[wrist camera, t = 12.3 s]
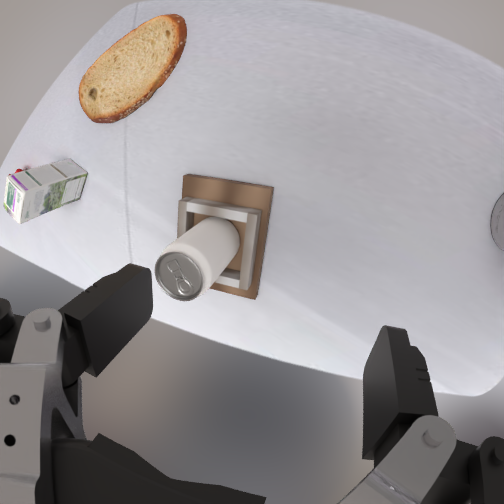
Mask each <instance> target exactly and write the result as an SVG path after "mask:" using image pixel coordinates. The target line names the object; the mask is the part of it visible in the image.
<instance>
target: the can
mask: <svg viewBox="0 0 504 504" xmlns="http://www.w3.org/2000/svg"><path fill="white" fill-rule="evenodd" d="M239 246H240V237H239V234H238V231H237V230H236V228H235V227H234V225H233V224H232V223H231V222H229V221H228V220H226V219H224V218H220V217H209V218H206V219H204V220H203V221H201V222H200V223H198V224H197V225H195V226H194V227H193V228H191V229H190V230H188V231H187V232H186V233H184V234H183V235H182V236H180V237H179V238H177V239H176V240H175V241H173V242H172V243H171V244H170V245H168V246H167V247H166V248H165V249H164V250H163V251H162V253H161V255H160V257H159V259H158V260H157V262H156V265H155V276H156V280H157V282H158V284H159V286H160V287H161V289H162V290H163V291H164V292H165V293H166V294H167V295H169V296H170V297H172V298H174V299H176V300H180V301H190V300H193V299H195V298H196V297H198V296H200V295H202V294H204V293H205V292H206V291H207V290H208V289H209V288H210V287H211V286H212V284H213V283H214V282H215V281H216V279H217V278H218V277H219V275H220V274H221V273H222V272H223V270H224V269H225V268H226V267H227V265H228V264H229V263H230V261H231V260H232V259H233V258H234V256H235V255H236V253H237V252H238V250H239Z"/></svg>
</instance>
